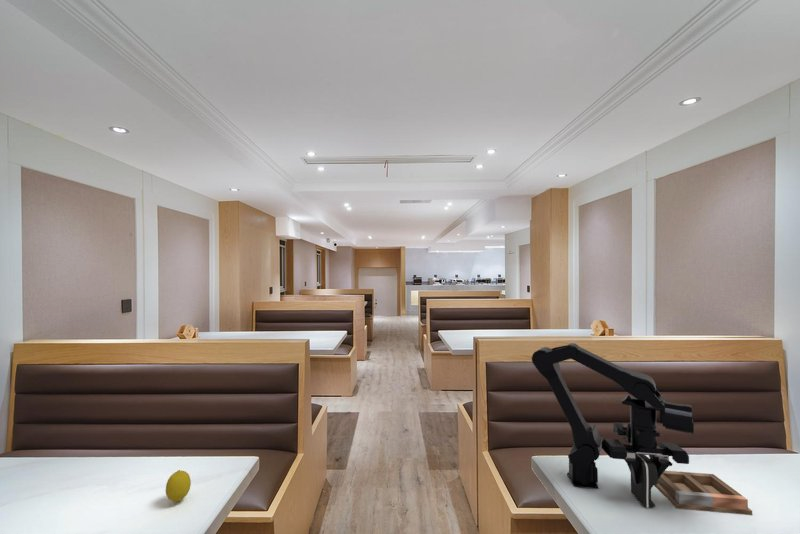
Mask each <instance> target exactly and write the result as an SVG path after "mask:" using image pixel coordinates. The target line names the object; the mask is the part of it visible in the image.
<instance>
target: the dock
mask: <svg viewBox="0 0 800 534" xmlns="http://www.w3.org/2000/svg"><path fill="white" fill-rule="evenodd" d="M653 487H655V488H656V489H657V490H658V491H659V492H660V493H661V494H662V496H664V497H665V498H666V499H667V500H668V501H669V503H671V504H672V506H674V508H676V509H679V510H692V511H700V512H702V511H703V512H713V513H714V512H716V513H727V514H737V515H738V514H740V515H750V516H753V509H751V508H749V504H748V503H749V501H748V500H749V499H748V498H746V497H745V496H743V495H742V494H741V493H740V492H738V491H737V490H735V489H734V488H732V487H731V486H730V485H729V484H727V483H726V482H725V481H723V480H722V479H720V478H719V477H718V476H717V475H715V474H714V473H701V472H689V471H676V470H675V471H674V470H665V471H664V472H663V473H662V475H661V476H660V478H659V479H658V484H655V485H653Z"/></svg>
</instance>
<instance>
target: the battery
mask: <svg viewBox="0 0 800 534" xmlns="http://www.w3.org/2000/svg"><path fill="white" fill-rule="evenodd" d="M635 458H636V459H637V460H638V461H639V479H638V484H636V483H635V482H634V480H633V477H632V475H631V474H630V493H631V494H632V495H633V497H634V498H635V499H636V500H637V501H638V503H640V504H641V506H642V507H643V508H646V509H654V508H655V507H656V504H655V502H654V501H653V500H652V488H653V487H654V485H653V484H658V474H657V467H656V465H655V464H654V462H653V461H651V460H650V458H649V456H647V455H646V454H635Z"/></svg>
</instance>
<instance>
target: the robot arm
mask: <svg viewBox="0 0 800 534" xmlns="http://www.w3.org/2000/svg"><path fill="white" fill-rule="evenodd" d="M567 360H573V361H575V362H577V363H579V364H581V365H582V366H584V367H587V368H588V369H591V370H593V371H594V372H596V373H598V374H600V375H602V376H603V377H606V378H608V379H610V380H612V381H613V382H614V383H616V384H617V385H618V386H619V387H621V389H622V390H624V391H625V392H627V393H628V394H627V395H626V396H625V397H623V398H622V399H621V404H622V405H626V406H629V422H627V426H624V424H623V423H622V422H613V425H612V426H613V434H614V435H616V436H620V437H621V439H622V440H623V439H624V440H625V442H627V443H629V444H623V443H622V442H621V441H620V440H618V439H617V438H615V439H613V438H603V436H601V435H600V433H599V431H598V428H597V426H596V424H594V425H592V426H591V425H590V424H589V423H588V422H587V421H586V420H585V418H584V416H583V414H582V412H581V410H580V409H579V407H578V404H577V402H576V401H575V398H574V397H573V395H572V392H571V391H570V389H569V388H568V385H567V383H566V381H565V380H564V377H563V375H562V372H561V367H560V362H564V361H567ZM531 362H532V364H533V365H534V367H535V368H536V370H537V372H538V373H539V374H540V375H541V376H542V377H544V379H545V380H546V381H547V383H548V385H549V386H550V388H551V390H552V393H553V395H554V398H556V400H557V403H558V404H559V407H560V408H561V410H562V411H561V412H563V415H564V416H565V419H566V420H567V422H568V424H569V426H570V429H571V434H572V438H573V439H572V440H573V445H572V447H571V449H570V451H569V453H568V455H567V457H568V472H567V474H566V475H567V477H568V479H569V481H570V482H571V484H572V486H574V488H575V487H576V488H577V487H578V488H588V489H599V485H598V482H599V479H598V477H599V476H598V474H599V471H598V467H597V466H596V462H595V461H597V460H599V457H600V454H601V453H602V452H601V451H602V450H603V451H604V453H606V454H607V456H608V457H609V458H611V459H614V460H623V461H625V463H626V464H627V467H628V470H629V472H630V476H631V475H632V477H633V480H634V482H635V483H636V484H638V479H639V461H638V460H637V459H636V458H635V454H644V455H646V456H647V455H648V458H649V459H650V460H651V461H653V462H654V464H655V465H656V467H657V474H658V479H659V478H660V476H661V475H662V473H663V472H664V471H667V469H668V468H669V467H672V466H673V463H672V462H671V461H670V457H671V459H672V460H673V461H674V462H675V463H676V464H682V465H689V464H690V456H689V454H688V452H687V451H686V450H685V449H683V448H682V447H680V446H679V445H678V444H677V443H675V442H663V441H662V442H660V443H659V444H658V441H657V440H658V438H657V437H660V436H661V435H660V432H659V431H658V430H657V412H659V424H662V427H664V429H666V430H670V431H675V432H680V433H685V434H690V435H694V433H695V432H694V431H695V427H694V425H695V424H694V419H693V411H692V409H693V408H692V405H691V404H687V403H677V402H672V401H671V402H670V401H666V400H665V397H663V395H662V394H661V393H660V392H659V390H658V389H657V387H656V386H657V385H656V382H655V379H653V377H651V376H650V375H648V374H646V373H642V372H640V371H637V370H634V369H630V368H625V367H622V366H619V365H617V364H615V363H614V362H611V361H610V360H608V359H605V358H603V357H601V356H599V355H597V354H595V353H593V352H591V351H589V350H587V349H585V348H583V347H581V346H580V345H578V344H577V343H569V344H566V345H560V346H556V347H552V348H551V347H547V346H543V347H541V348H539V349H538V350H536V351H534V352H533V354H532V356H531ZM657 445H659V446H657ZM654 485H655V484H653V486H654Z"/></svg>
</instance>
